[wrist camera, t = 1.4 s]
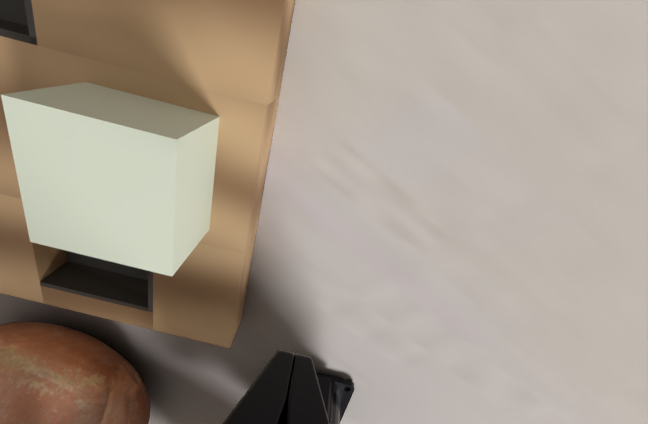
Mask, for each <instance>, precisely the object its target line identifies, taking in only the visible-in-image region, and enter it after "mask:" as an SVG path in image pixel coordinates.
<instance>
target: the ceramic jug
mask: <svg viewBox="0 0 648 424" xmlns="http://www.w3.org/2000/svg"><path fill="white" fill-rule="evenodd" d="M149 417H150V401H149V396H148V393H147V390H146V387H145V385H144V383H143V381H142V379H141V378H140V376H139V374H138V373H137V371H136V370H135V369H134V367H133V366H132V365H131V364H130V363H129V362H128V361H127V360H126V359H125V358H124V357H122V356H121V355H120V354H119V353H117V352H116V351H115V350H113V349H112V348H111V347H109V346H108V345H106V344H104V343H103V342H101V341H99V340H98V339H96V338H94V337H92V336H90V335H88V334H86V333H83V332H80V331H77V330H74V329H72V328H68V327H65V326H61V325H56V324H51V323H44V322H14V323H6V324H2V325H0V424H148V422H149Z"/></svg>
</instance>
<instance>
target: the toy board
mask: <svg viewBox="0 0 648 424" xmlns="http://www.w3.org/2000/svg"><path fill="white" fill-rule="evenodd" d="M294 5H295V0H0V293H1V294H6V295H10V296H14V297H18V298H22V299H26V300H31V301H35V302H39V303H43V304H47V305H51V306H56V307H60V308H64V309H68V310H72V311H76V312H81V313H85V314H89V315H93V316H97V317H101V318H105V319H110V320H114V321H118V322H122V323H126V324H130V325H135V326H139V327H143V328H147V329H151V330H155V331H160V332H164V333H168V334H172V335H176V336H180V337H185V338H189V339H193V340H197V341H201V342H205V343H209V344H214V345H218V346H222V347H226V348H230V346H231V344H232V342H233V339H234V337H235V335H236V332H237V330H238V327H239V325H240V323H241V320H242V315H243V309H244V303H245V297H246V291H247V285H248V279H249V273H250V267H251V261H252V255H253V249H254V243H255V237H256V231H257V225H258V219H259V213H260V207H261V201H262V195H263V189H264V183H265V178H266V172H267V166H268V160H269V154H270V148H271V142H272V136H273V130H274V124H275V118H276V112H277V106H278V100H279V94H280V88H281V82H282V76H283V70H284V64H285V58H286V52H287V46H288V40H289V34H290V28H291V23H292V17H293V11H294ZM83 82H88V83H92V84H96V85H100V86H104V87H107V88H111V89H115V90H119V91H123V92H127V93H131V94H134V95H138V96H142V97H146V98H150V99H154V100H158V101H161V102H165V103H169V104H173V105H177V106H181V107H185V108H188V109H192V110H196V111H200V112H204V113H208V114H212V115H216V116H219V117H220V119H219V130H218V141H217V152H216V163H215V174H214V184H213V195H212V206H211V217H210V228H209V231H208V232H207V233H206V235H205V236H204V237H203V238H202V240H201V241H200V242H199V243H198V245H197V246H196V247H195V248H194V250H193V251H192V252H191V253H190V255H189V256H188V257H187V258H186V260H185V261H184V262H183V264H182V265H181V266H180V267H179V269H178V270H177V271H176V272H175V274H174V275H173V276H168V275H164V274H159V273H155V272H151V271H147V270H143V269H139V268H135V267H131V266H127V265H123V264H119V263H115V262H110V261H106V260H102V259H98V258H94V257H90V256H86V255H82V254H78V253H74V252H70V251H66V250H62V249H57V248H53V247H49V246H45V245H41V244H37V243H33V242H30V238H29V233H28V228H27V223H26V218H25V213H24V208H23V203H22V198H21V193H20V188H19V183H18V178H17V173H16V168H15V163H14V158H13V153H12V148H11V143H10V138H9V133H8V128H7V123H6V118H5V113H4V108H3V103H2V98H1V94H8V93H14V92H21V91H28V90H35V89H42V88H49V87H56V86H63V85H69V84H76V83H83Z"/></svg>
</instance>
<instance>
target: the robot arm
mask: <svg viewBox="0 0 648 424" xmlns="http://www.w3.org/2000/svg"><path fill="white" fill-rule="evenodd" d="M353 392H354V383H353V382H352V381H350V380H346V379H341V378H337V377H333V376H329V375H325V374H321V373H316V371H315V367H314V364H313V360H312V358H311V357H310V356H307V355H303V354H296V355H295V354H294V353H293V352H290V351H286V350H282V349H281V350H279V351H277V353H276V354H275V355H274V357H273V358H272V359H271V361H270V362H269V363H268V365H267V366H266V367H265V369H264V370H263V371H262V373H261V374H260V375H259V376H258V378H257V379H256V380H255V382H254V383H253V384H252V386H251V387H250V388H249V390H248V391H247V392H246V394H245V395H244V396H243V398H242V399H241V400H240V402H239V403H238V404H237V405H236V407H235V408H234V409H233V411H232V412H231V413H230V415H229V416H228V417H227V419H226V420H225V421H224V423H223V424H340V421H341V419H342V417H343V415H344V412H345V410H346V408H347V405H348V403H349V401H350V398H351V396H352V394H353Z"/></svg>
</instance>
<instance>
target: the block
mask: <svg viewBox="0 0 648 424" xmlns="http://www.w3.org/2000/svg"><path fill="white" fill-rule="evenodd" d="M1 98H2V103H3V108H4V113H5V118H6V123H7V128H8V133H9V138H10V143H11V148H12V153H13V158H14V163H15V168H16V173H17V178H18V183H19V188H20V193H21V198H22V203H23V208H24V213H25V218H26V223H27V228H28V233H29V238H30V242H33V243H37V244H41V245H45V246H49V247H53V248H57V249H62V250H66V251H70V252H74V253H78V254H82V255H86V256H90V257H94V258H98V259H102V260H106V261H110V262H115V263H119V264H123V265H127V266H131V267H135V268H139V269H143V270H147V271H151V272H155V273H159V274H164V275H168V276H173V275H174V274H175V272H176V271H177V270H178V269H179V267H180V266H181V265H182V264H183V262H184V261H185V260H186V258H187V257H188V256H189V255H190V253H191V252H192V251H193V250H194V248H195V247H196V246H197V245H198V243H199V242H200V241H201V240H202V238H203V237H204V236H205V235H206V233H207V232H208V231H209V228H210V217H211V206H212V195H213V184H214V174H215V163H216V152H217V141H218V130H219V119H220V117H219V116H216V115H212V114H208V113H204V112H200V111H196V110H192V109H188V108H185V107H181V106H177V105H173V104H169V103H165V102H161V101H158V100H154V99H150V98H146V97H142V96H138V95H134V94H131V93H127V92H123V91H119V90H115V89H111V88H107V87H104V86H100V85H96V84H92V83H88V82H83V83H76V84H69V85H63V86H56V87H49V88H42V89H35V90H28V91H21V92H14V93H8V94H1Z"/></svg>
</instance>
